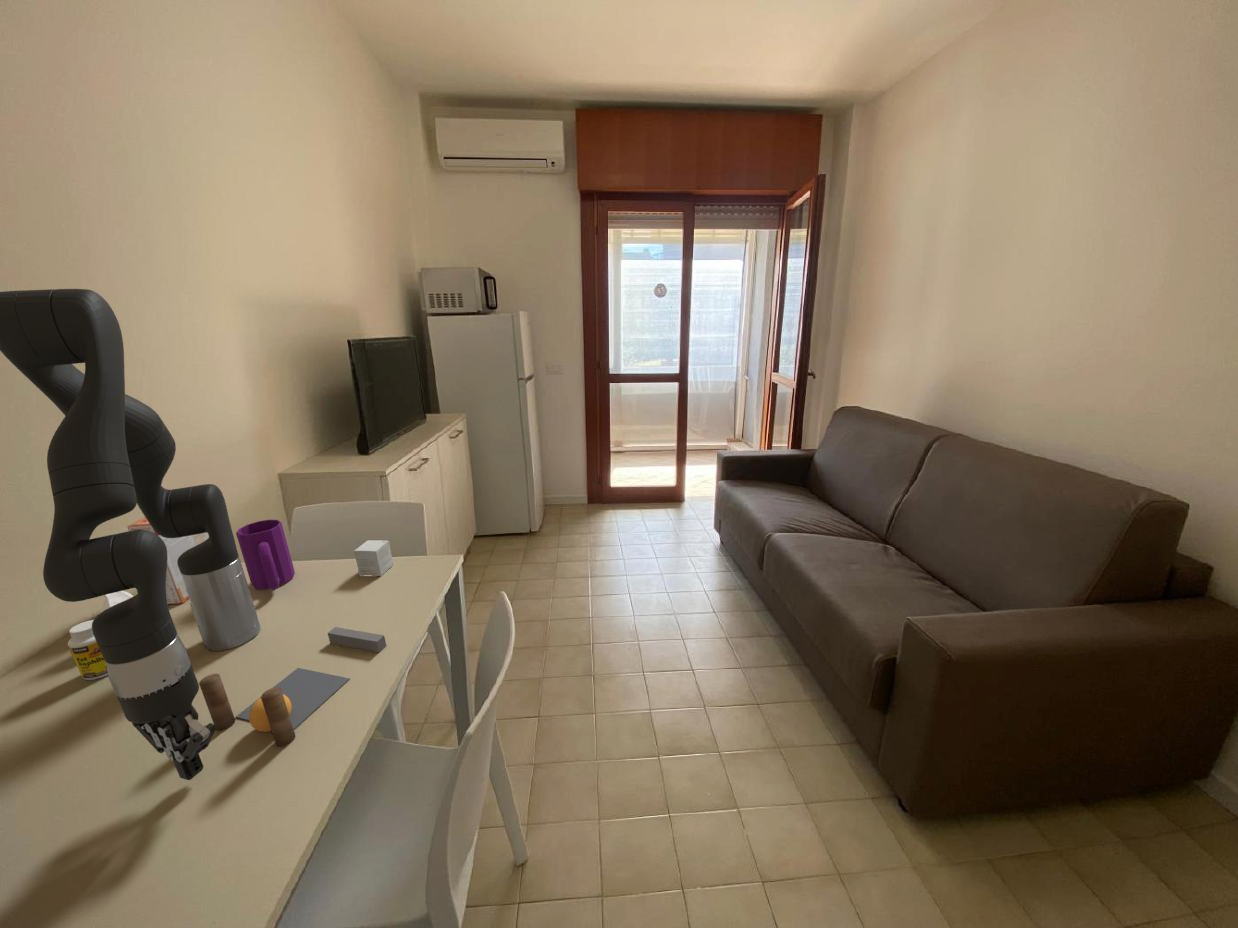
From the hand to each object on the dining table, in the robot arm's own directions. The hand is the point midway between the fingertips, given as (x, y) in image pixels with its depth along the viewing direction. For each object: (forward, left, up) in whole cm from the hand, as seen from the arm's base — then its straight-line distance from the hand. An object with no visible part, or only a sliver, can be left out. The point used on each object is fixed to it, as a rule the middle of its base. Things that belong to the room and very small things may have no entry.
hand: (192, 773), depth 71 cm
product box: (-18, +57, -2) cm, 60 cm away
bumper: (0, +31, -2) cm, 31 cm away
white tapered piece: (-51, +22, -2) cm, 56 cm away
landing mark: (0, +16, -2) cm, 17 cm away
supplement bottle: (-43, +13, -2) cm, 45 cm away
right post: (+6, +9, -2) cm, 11 cm away
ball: (+2, +11, +1) cm, 11 cm away
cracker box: (-58, +39, -2) cm, 70 cm away
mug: (-38, +45, -2) cm, 59 cm away
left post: (-6, +9, -2) cm, 11 cm away
